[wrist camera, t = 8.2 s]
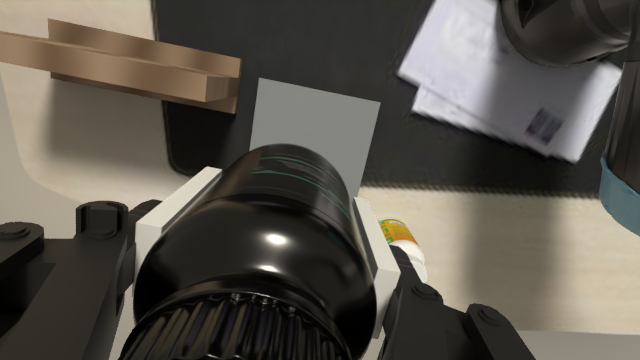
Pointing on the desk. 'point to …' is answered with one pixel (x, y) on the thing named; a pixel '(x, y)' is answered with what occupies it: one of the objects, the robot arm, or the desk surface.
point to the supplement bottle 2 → (404, 243)
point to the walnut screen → (128, 65)
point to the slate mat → (317, 125)
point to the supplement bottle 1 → (259, 269)
